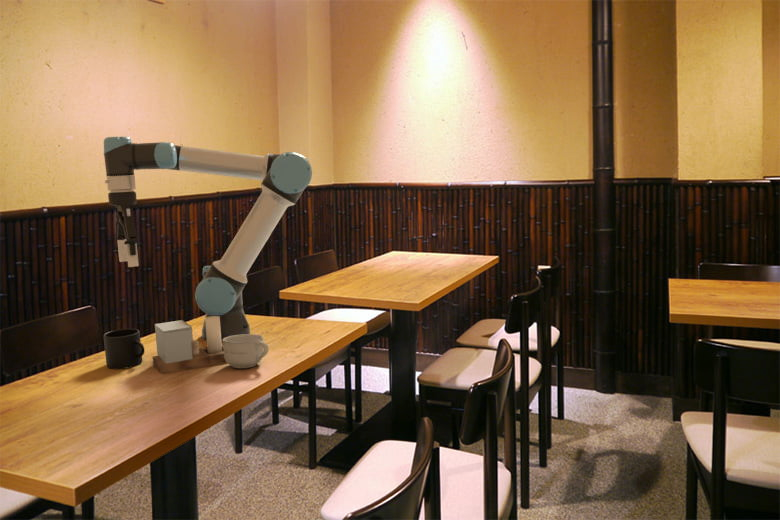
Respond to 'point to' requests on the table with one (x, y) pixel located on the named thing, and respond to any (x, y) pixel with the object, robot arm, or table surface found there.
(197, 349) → the wooden tray
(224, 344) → the teacup
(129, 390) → the table surface
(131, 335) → the mug
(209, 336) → the pin
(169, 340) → the cover
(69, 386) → the table surface
